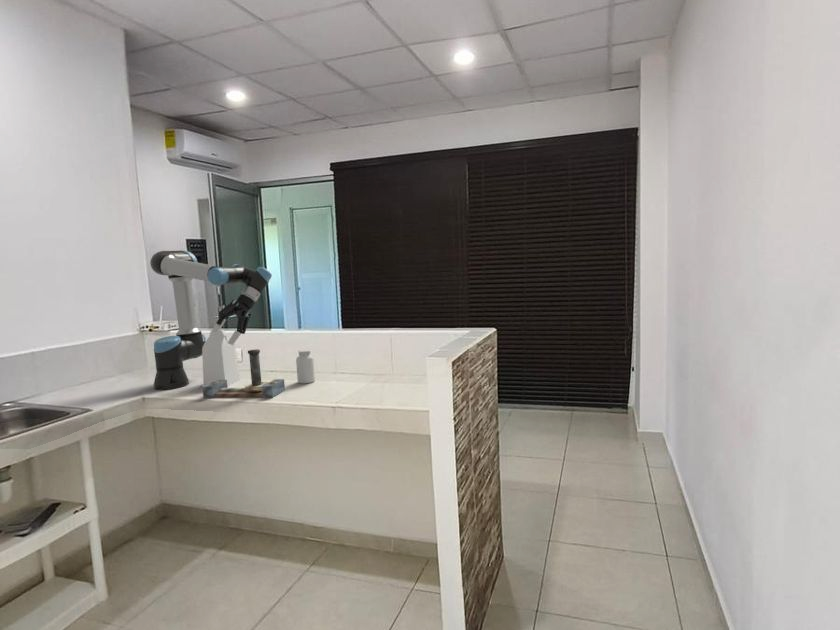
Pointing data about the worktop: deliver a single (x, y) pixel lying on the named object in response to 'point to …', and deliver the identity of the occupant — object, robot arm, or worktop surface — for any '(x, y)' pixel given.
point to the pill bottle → (305, 367)
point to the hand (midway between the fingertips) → (222, 338)
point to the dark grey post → (255, 372)
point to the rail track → (242, 390)
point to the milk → (219, 359)
